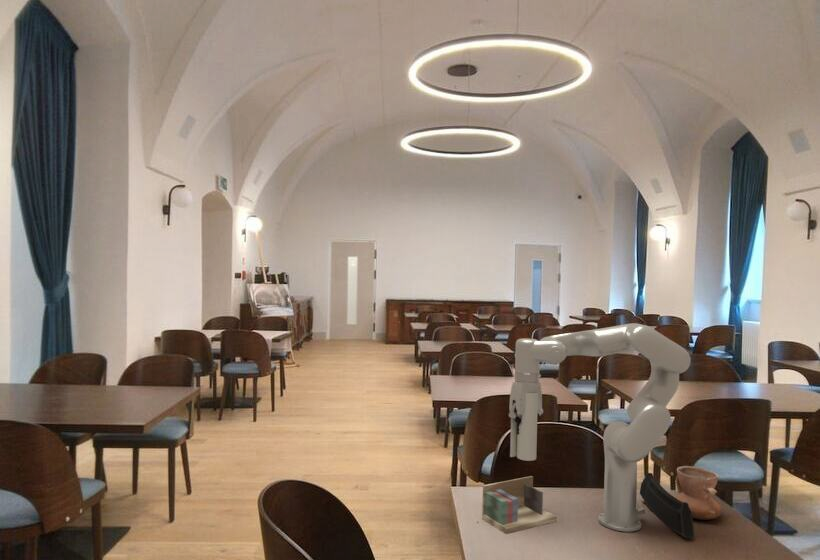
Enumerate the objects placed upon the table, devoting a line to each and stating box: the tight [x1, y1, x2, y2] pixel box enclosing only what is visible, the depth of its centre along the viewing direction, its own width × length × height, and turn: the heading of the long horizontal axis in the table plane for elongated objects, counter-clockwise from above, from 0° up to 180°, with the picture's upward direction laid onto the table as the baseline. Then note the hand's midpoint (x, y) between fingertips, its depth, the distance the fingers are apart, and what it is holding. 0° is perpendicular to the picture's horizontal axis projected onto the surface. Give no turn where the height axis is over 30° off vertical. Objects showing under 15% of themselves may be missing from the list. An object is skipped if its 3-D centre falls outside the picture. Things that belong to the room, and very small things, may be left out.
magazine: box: [639, 472, 695, 539], centre depth 179 cm, size 17×3×30 cm
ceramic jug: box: [673, 465, 722, 521], centre depth 184 cm, size 18×14×14 cm
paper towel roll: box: [509, 392, 538, 462], centre depth 177 cm, size 7×6×21 cm
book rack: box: [481, 475, 557, 535], centre depth 176 cm, size 12×20×10 cm, turn 119°
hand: (525, 435), depth 177 cm, fingers closed on paper towel roll, 3 cm apart
